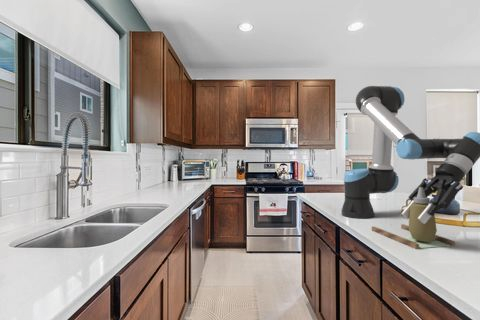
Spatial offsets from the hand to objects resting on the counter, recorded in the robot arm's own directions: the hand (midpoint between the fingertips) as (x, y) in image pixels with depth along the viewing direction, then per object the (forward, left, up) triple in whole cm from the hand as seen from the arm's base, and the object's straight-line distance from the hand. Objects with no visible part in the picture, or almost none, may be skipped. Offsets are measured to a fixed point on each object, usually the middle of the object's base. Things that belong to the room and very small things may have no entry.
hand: (412, 218), depth 89 cm
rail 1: (-6, -3, -8) cm, 11 cm away
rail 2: (-6, +10, -8) cm, 14 cm away
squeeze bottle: (0, +4, -8) cm, 8 cm away
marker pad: (0, +4, -8) cm, 9 cm away
